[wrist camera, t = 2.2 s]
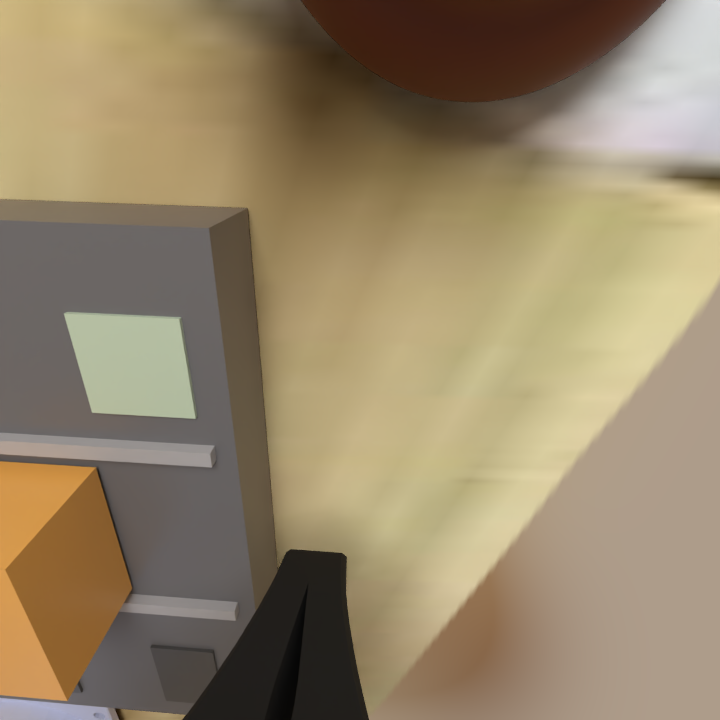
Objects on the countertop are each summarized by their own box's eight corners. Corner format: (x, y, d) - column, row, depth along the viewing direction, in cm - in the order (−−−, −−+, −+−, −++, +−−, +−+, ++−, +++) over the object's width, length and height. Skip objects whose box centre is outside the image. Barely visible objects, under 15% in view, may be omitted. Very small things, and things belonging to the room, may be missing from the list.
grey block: (284, 650, 18) (267, 732, 16) (43, 630, 19) (-10, 706, 16) (247, 208, 11) (202, 231, 8) (-157, 193, 11) (-316, 211, 9)
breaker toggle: (132, 588, 13) (67, 701, 10) (31, 580, 13) (-58, 689, 11) (95, 467, 11) (4, 569, 8) (-23, 459, 11) (-147, 558, 9)
